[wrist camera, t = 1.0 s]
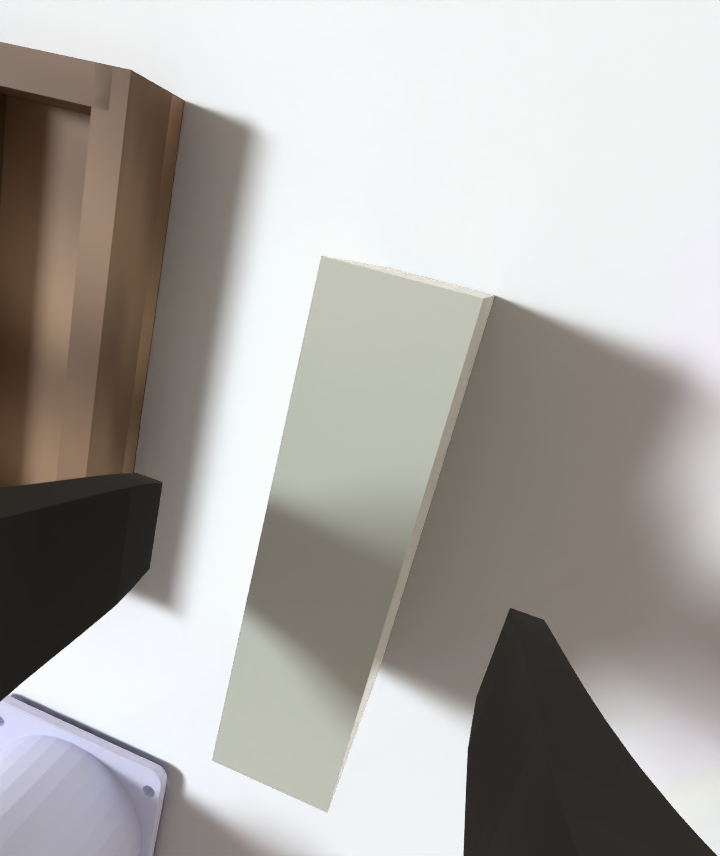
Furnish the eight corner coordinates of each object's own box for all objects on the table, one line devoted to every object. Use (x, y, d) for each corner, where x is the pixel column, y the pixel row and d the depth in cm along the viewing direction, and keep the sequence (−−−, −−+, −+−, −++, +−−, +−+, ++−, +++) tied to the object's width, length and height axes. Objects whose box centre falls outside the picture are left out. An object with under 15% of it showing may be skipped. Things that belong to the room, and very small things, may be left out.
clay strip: (383, 656, 19) (327, 812, 13) (300, 624, 19) (212, 760, 14) (495, 295, 15) (483, 298, 10) (389, 267, 16) (321, 255, 10)
